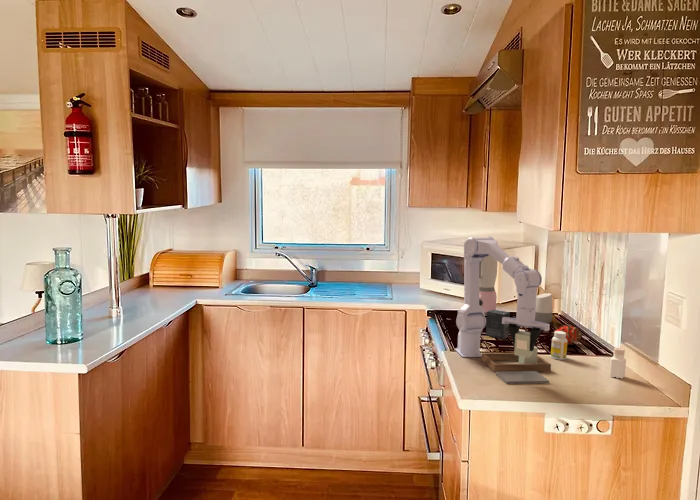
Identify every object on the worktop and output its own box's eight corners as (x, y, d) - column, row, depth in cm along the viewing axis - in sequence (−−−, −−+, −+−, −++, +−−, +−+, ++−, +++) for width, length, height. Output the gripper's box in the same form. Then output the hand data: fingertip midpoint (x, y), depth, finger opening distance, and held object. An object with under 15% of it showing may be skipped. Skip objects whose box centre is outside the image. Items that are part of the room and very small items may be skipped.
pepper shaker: (611, 373, 175) (614, 346, 174) (625, 376, 172) (627, 348, 171) (609, 376, 172) (611, 348, 171) (622, 379, 169) (624, 351, 168)
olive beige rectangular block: (514, 355, 167) (515, 333, 166) (518, 351, 170) (519, 330, 170) (528, 357, 164) (529, 336, 163) (532, 354, 168) (533, 333, 167)
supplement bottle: (553, 359, 188) (555, 334, 187) (548, 355, 193) (550, 330, 192) (568, 360, 188) (570, 334, 187) (562, 355, 193) (564, 330, 192)
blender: (475, 310, 266) (479, 248, 263) (499, 313, 259) (502, 250, 256) (463, 315, 253) (467, 250, 250) (488, 319, 247) (491, 252, 243)
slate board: (495, 373, 172) (496, 371, 172) (536, 373, 173) (536, 371, 173) (506, 383, 163) (506, 381, 163) (549, 383, 164) (549, 380, 164)
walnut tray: (481, 360, 186) (481, 353, 186) (533, 359, 188) (534, 352, 188) (494, 372, 174) (494, 364, 173) (550, 371, 176) (551, 364, 175)
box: (508, 336, 218) (510, 312, 216) (502, 339, 213) (504, 314, 212) (491, 333, 223) (493, 308, 222) (485, 335, 219) (486, 310, 218)
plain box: (518, 363, 183) (519, 344, 182) (530, 363, 184) (531, 344, 183) (523, 367, 179) (525, 348, 178) (536, 367, 179) (537, 348, 178)
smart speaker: (530, 319, 249) (532, 290, 247) (550, 321, 246) (552, 292, 245) (531, 324, 240) (533, 294, 238) (552, 326, 237) (554, 296, 236)
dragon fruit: (584, 349, 207) (552, 351, 210) (579, 333, 213) (549, 334, 216) (585, 336, 201) (552, 338, 204) (580, 319, 208) (549, 321, 210)
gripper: (553, 308, 165) (550, 350, 166) (507, 302, 173) (505, 341, 174) (547, 312, 159) (544, 355, 160) (500, 305, 167) (498, 346, 169)
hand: (523, 348), depth 167 cm, fingers closed on olive beige rectangular block, 4 cm apart
